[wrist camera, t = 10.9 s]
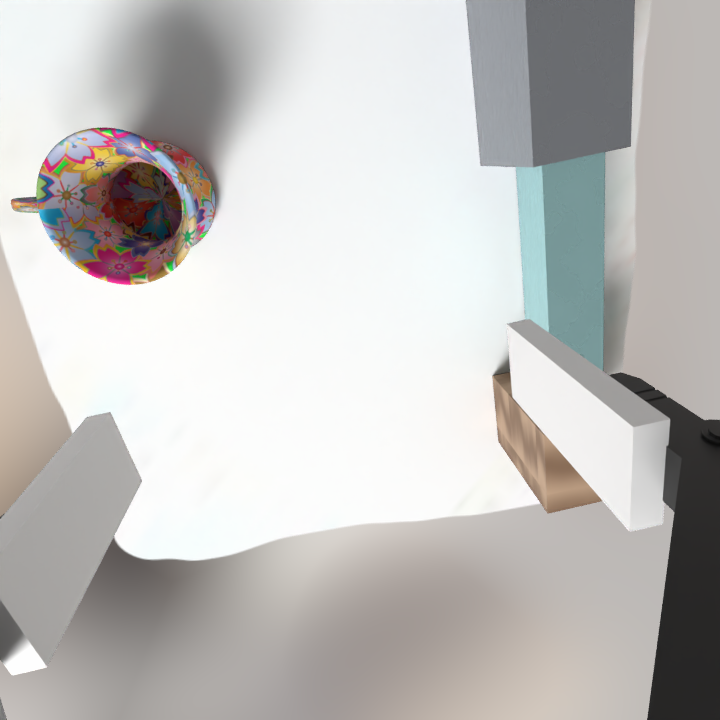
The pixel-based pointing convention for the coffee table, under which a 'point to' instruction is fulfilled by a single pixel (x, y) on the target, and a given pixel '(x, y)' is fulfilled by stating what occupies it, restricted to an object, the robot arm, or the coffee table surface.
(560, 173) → the teal square bar
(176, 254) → the mug
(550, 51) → the sleeve
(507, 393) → the socket
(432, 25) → the coffee table surface
